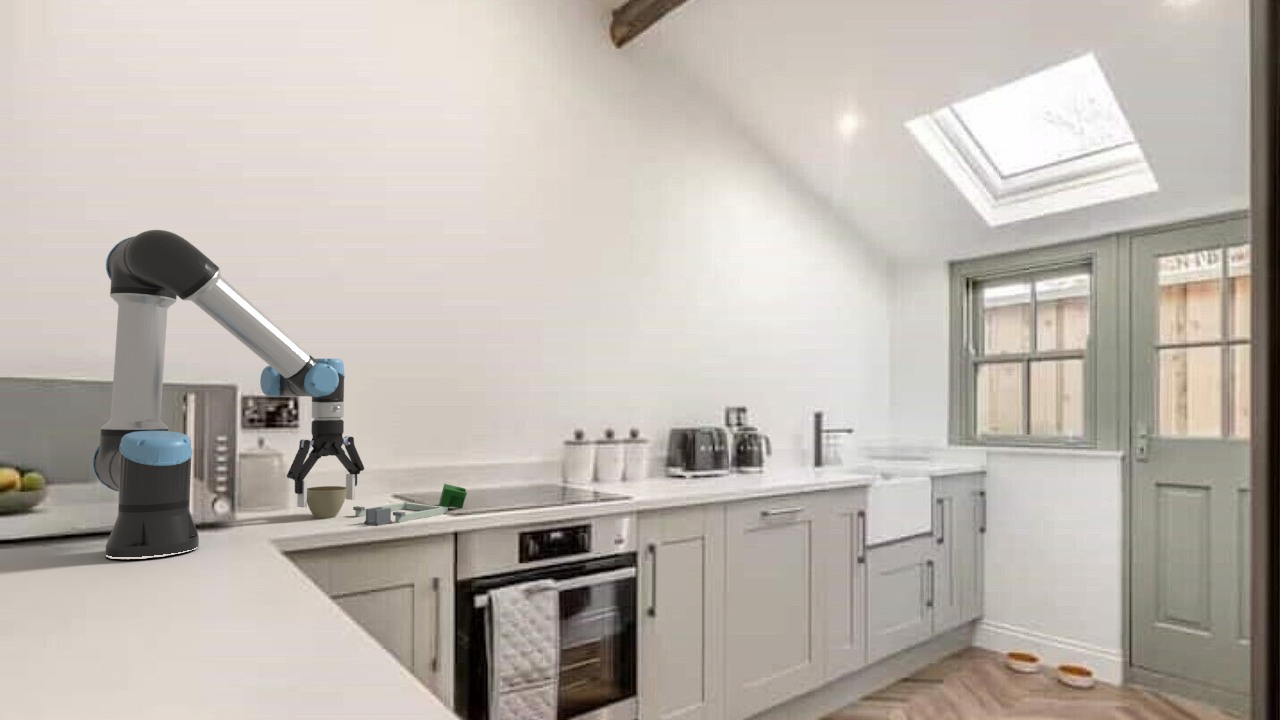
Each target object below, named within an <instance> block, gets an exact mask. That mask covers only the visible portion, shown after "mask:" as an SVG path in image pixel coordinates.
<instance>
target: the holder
mask: <svg viewBox="0 0 1280 720" xmlns="http://www.w3.org/2000/svg"><path fill="white" fill-rule="evenodd" d="M376 507H377V506H373V507H372V508H376ZM378 507H382V509H385V508H391V512H392V516H394V517H395V519H394V521H395V523H402V521H403V522H408V520H409V521H414V520H419V519H423V518H424V517H425V518H429V516H430V517H435V516H440V515H439V514H441V515H445V514H444V513H446V514H448V513H449V506H448V507H441V506H439V505H431V504H421V503H414V502H407V501H406V502H405V501H404V502H399V503H393V504H387V505H380V506H378ZM369 508H370V507H368V508H366V507H364V506H359V505H357V506H353V507H352V510H353V511H354V512H355V513H354V515H355V517H364V516H365V517H366V509H369ZM410 509H411V510H413V511H414V512H410V513H406V512H403V511H399V510H410ZM411 510H410V511H411ZM418 510H420V511H418ZM434 515H435V516H434ZM425 518H424V519H425Z"/></svg>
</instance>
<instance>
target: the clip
mask: <svg viewBox="0 0 1280 720" xmlns="http://www.w3.org/2000/svg"><path fill="white" fill-rule="evenodd" d="M375 507H376V508H373V507H368V508H369V509H367V508H365V509H366V515H365V520H363V521H364V522H363V523H364V525H371V524H372V526H377V525H379V526H384V525H389V524H392V523H393V520H392V519H391V517H392V515H391V513H392V511H391V508H385V509H382V507H379V506H375ZM388 523H389V524H388ZM383 524H384V525H383Z"/></svg>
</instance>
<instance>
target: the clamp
mask: <svg viewBox="0 0 1280 720" xmlns="http://www.w3.org/2000/svg"><path fill="white" fill-rule="evenodd" d="M466 490H467V488H465V487H461V486H457V485H451V484H446V483H444V484H443V488H442V491H441V494H440V495H441V496H440V499H439V503H438V506H441V507H448V508H449V507H452V508H457V509H460V508H462V509H463V507H464V503H465V501H466V500H465V499H466V498H467V494H468V492H467V491H466Z"/></svg>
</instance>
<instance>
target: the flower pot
mask: <svg viewBox="0 0 1280 720" xmlns="http://www.w3.org/2000/svg"><path fill="white" fill-rule="evenodd" d="M346 494H347V487H346V486H339V485H337V486H336V485H335V486H334V485H330V486H329V485H328V486H327V485H324V486H323V485H322V486H313V487H307V507H308V508H309V511H310V513H311V514H312V515H313V518H315V519H332V518H335V517H337V516H338V514H339V513H340V510H341V509H342V507H343V505H344V502H345V500H346Z"/></svg>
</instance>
